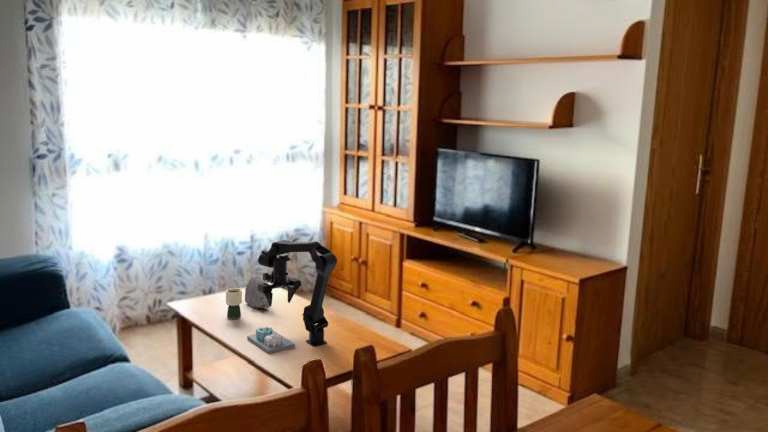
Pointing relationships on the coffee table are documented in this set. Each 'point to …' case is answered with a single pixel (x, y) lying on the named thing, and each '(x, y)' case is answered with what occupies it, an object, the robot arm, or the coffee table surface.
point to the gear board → (269, 348)
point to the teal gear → (263, 333)
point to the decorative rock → (255, 293)
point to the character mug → (233, 302)
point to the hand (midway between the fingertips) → (279, 304)
